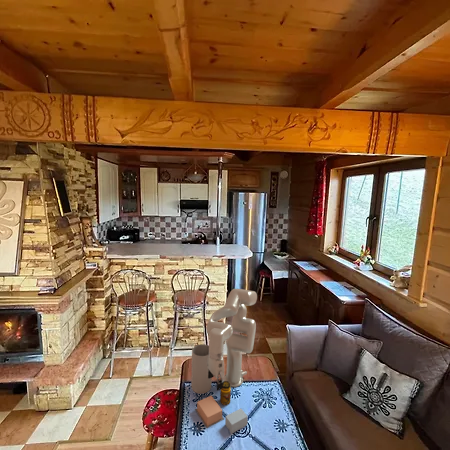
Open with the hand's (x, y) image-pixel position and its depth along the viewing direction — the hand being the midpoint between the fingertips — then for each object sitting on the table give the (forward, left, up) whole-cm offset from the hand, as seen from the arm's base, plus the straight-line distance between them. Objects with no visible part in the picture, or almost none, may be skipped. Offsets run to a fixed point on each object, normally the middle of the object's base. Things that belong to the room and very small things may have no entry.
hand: (215, 383), depth 141 cm
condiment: (-12, -8, -22) cm, 26 cm away
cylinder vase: (-6, -25, -22) cm, 34 cm away
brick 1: (0, -4, -21) cm, 22 cm away
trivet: (0, -4, -22) cm, 23 cm away
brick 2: (-9, +9, -22) cm, 25 cm away
